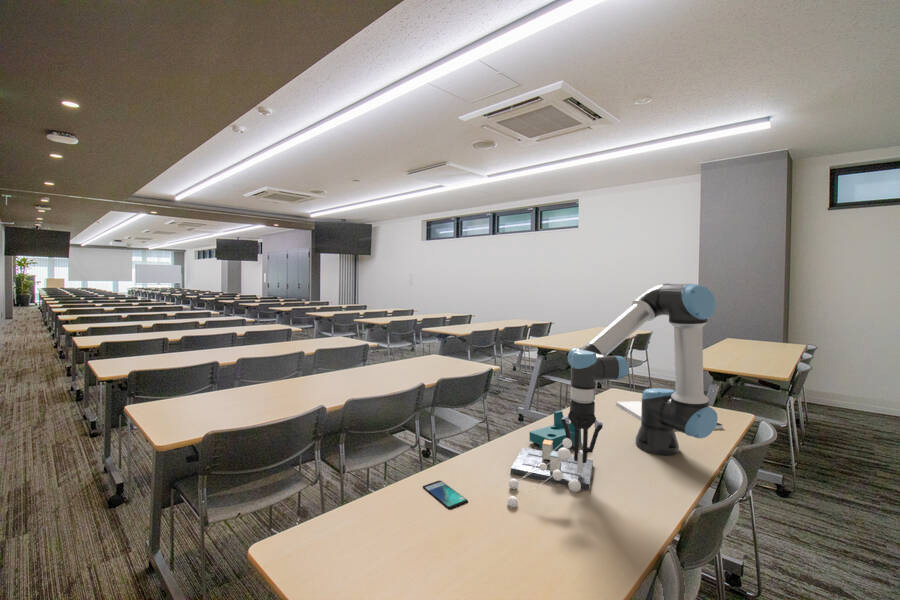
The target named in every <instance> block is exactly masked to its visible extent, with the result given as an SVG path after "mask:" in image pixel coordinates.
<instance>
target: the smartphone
mask: <svg viewBox="0 0 900 600" xmlns="http://www.w3.org/2000/svg"><path fill="white" fill-rule="evenodd" d="M422 489H423V490H425V491H426V492H427V493H428V494H430V495H431V496H432V497H433V498H434V499H435V500H437V501H438V502H439V503H441V505H442V506H444V507H445V508H447V510H450V509H451V510H453V509H457V508H459V507H461V506H464V505H466V504H468V503H469V500H468V499H467V498H465V497H464V496H463V495H462V494H460V493H459V492H457V491H456V490H454V489H453V488H452V487H450V486H449V485H448V484H447V483H445V482H443V481H442V480H437V481H434V482H431V483H428V484H424V485H422Z"/></svg>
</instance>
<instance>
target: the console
mask: <svg viewBox="0 0 900 600" xmlns="http://www.w3.org/2000/svg"><path fill="white" fill-rule="evenodd" d="M542 460H543V459H542V450H541V449H540V450H539V449H533V448H530V447H529V448H528V447H525V446H524V447H522V448H521V450H520V451H519V453H518V455H517V457H516V458H515V460H514V462H513V463H512V465H511V467H510V474H511V475H515V476H520V477H522V478H523V477H524V476H525V475H526V474H527V473H528V472H529V471H530V472H529V473H528V474H529V475H528V474H527V475H528V476H527V475H526V477H524V478H528V479H533V480H538V481H542V480H543V481H542V482H544V481H545V480H546V481H545V482H548V483H552V484H558V485H562V486H566V487H569V486H568V484H569V481H570V480H572V478H573V479H574V477H575V479H576V480H578V481H579V482H580V484H581V489H580V490H585V491H590V488H591V481H592V480H591V479H592V475H593V467H594V460H593V459H589V458H587V462H586V463H583V472H582V474H581V473H577V465H578V462H577V461H574V455H573V456H572V455H571V457H570V459H569V460H567V463H566V461H562V460H561V469H560V471H561V472H562V474H563V478H564V479H561V480H559V481H557V480H555V479H554V478H553V475H552V474H553V472H550V460H547V459H544V460H543V461H542ZM571 460H572V463H571ZM541 461H542V462H541ZM541 463H545V464H546V465H547V464H548V463H549V464H548V465H547V469H546V470H545V471H542V470H541V469H539V468H540V467H539V466H540V464H541ZM537 464H538V465H537ZM567 464H568V465H567ZM536 465H537V466H536ZM535 466H536V467H535ZM572 466H573V469H572ZM534 467H535V468H534ZM568 467H569V468H568ZM533 468H534V469H533ZM532 469H533V470H532ZM537 469H539V470H537ZM536 470H537V471H536ZM569 470H570V471H569ZM534 471H535V472H534ZM573 471H574V474H573ZM532 472H533V473H532ZM570 472H571V474H570ZM530 473H531V474H530ZM571 475H572V477H571ZM551 476H552V477H551ZM550 477H551V478H550ZM548 478H549V479H548ZM547 479H548V480H547ZM565 479H567V480H565ZM568 480H569V481H568Z"/></svg>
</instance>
